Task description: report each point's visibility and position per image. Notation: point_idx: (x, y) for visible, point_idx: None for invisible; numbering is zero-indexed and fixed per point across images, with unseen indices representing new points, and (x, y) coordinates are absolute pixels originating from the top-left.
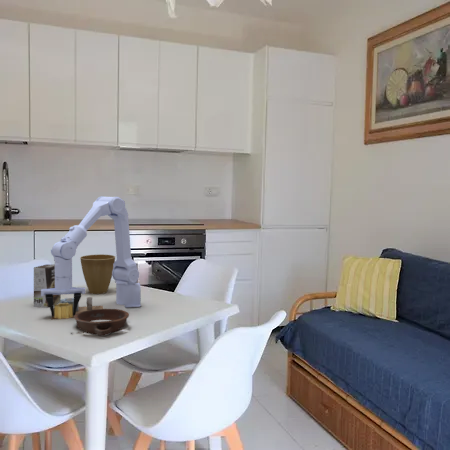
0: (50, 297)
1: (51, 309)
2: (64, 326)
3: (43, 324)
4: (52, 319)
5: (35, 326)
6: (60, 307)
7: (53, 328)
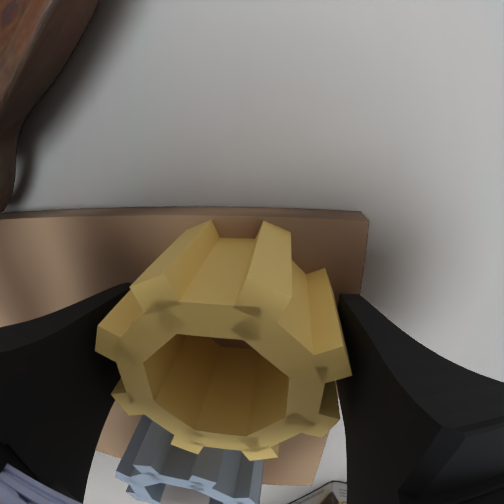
0: (482, 451)
1: (385, 324)
2: (232, 52)
3: (426, 183)
4: (355, 218)
5: (481, 141)
6: (257, 278)
7: (334, 14)
